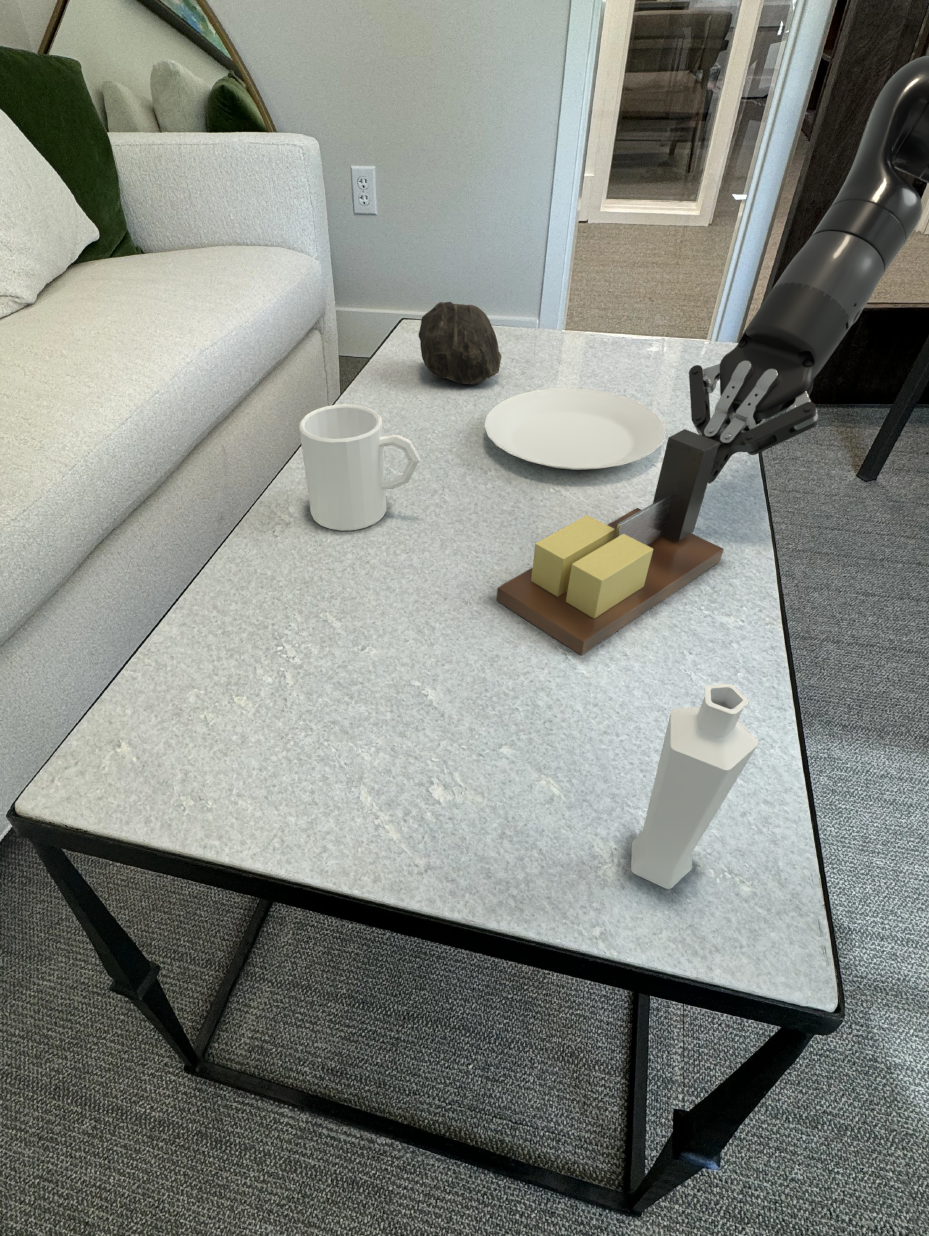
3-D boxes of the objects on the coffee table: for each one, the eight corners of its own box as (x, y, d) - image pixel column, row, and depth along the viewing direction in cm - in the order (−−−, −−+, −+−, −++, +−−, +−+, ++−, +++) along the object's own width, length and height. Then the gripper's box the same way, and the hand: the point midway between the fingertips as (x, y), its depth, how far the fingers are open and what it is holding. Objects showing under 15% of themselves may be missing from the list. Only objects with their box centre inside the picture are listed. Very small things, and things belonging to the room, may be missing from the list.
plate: (652, 407, 93) (656, 390, 91) (669, 491, 78) (674, 472, 77) (489, 402, 96) (491, 384, 94) (477, 482, 81) (478, 463, 80)
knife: (661, 518, 71) (684, 428, 65) (693, 532, 69) (720, 442, 63) (594, 557, 67) (612, 466, 61) (626, 574, 65) (647, 482, 59)
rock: (498, 388, 96) (493, 304, 90) (416, 395, 99) (405, 314, 93) (507, 367, 104) (502, 288, 98) (430, 374, 107) (421, 298, 101)
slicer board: (634, 520, 75) (637, 507, 74) (719, 562, 69) (724, 548, 68) (496, 600, 66) (497, 587, 65) (581, 655, 61) (583, 642, 60)
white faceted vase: (705, 849, 47) (785, 685, 37) (684, 902, 45) (763, 741, 34) (637, 819, 49) (693, 654, 38) (613, 868, 46) (666, 705, 36)
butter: (580, 551, 69) (586, 514, 66) (644, 586, 64) (653, 548, 62) (530, 580, 66) (535, 543, 63) (594, 619, 62) (601, 580, 59)
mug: (410, 541, 73) (407, 449, 66) (299, 525, 76) (286, 435, 69) (430, 500, 79) (430, 411, 72) (327, 487, 81) (317, 400, 74)
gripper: (736, 264, 65) (622, 439, 68) (885, 298, 57) (749, 492, 61) (751, 314, 71) (646, 472, 74) (887, 350, 63) (764, 524, 67)
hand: (693, 481), depth 68 cm, fingers closed
